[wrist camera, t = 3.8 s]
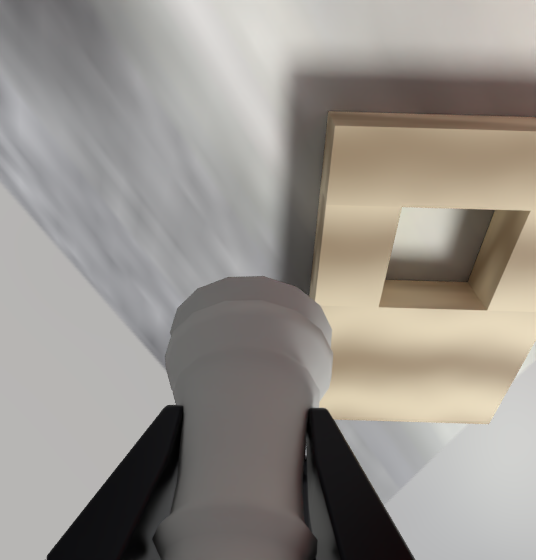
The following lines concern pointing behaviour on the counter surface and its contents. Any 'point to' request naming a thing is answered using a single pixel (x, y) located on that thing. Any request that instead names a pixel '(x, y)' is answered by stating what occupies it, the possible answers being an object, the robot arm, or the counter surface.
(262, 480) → the rook chess piece
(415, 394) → the socket block
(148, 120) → the counter surface
